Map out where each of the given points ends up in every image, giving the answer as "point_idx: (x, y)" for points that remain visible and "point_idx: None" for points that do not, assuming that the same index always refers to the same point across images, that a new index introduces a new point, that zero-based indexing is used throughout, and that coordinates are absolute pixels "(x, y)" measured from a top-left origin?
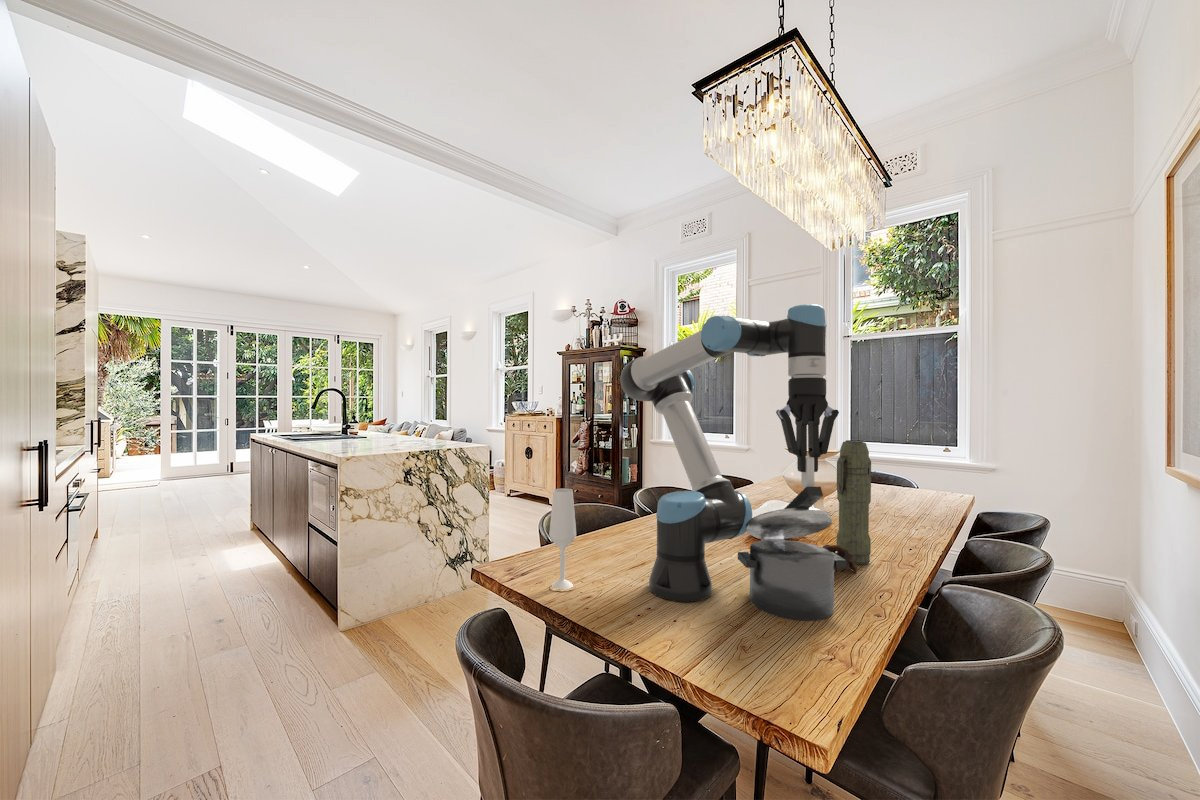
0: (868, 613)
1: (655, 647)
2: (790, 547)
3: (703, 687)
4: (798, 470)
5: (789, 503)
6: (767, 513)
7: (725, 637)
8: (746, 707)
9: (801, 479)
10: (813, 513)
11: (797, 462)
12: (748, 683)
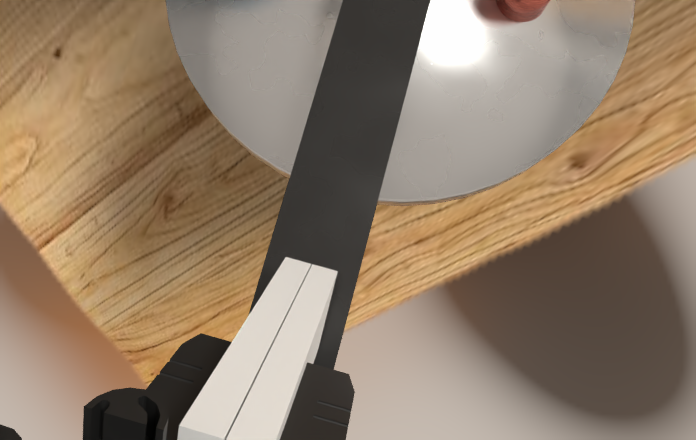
0: (565, 145)
1: (3, 155)
2: None
3: (63, 283)
4: (194, 342)
5: (316, 88)
6: (189, 75)
7: (147, 157)
8: (109, 335)
9: (270, 281)
10: (394, 204)
11: (149, 385)
12: (132, 294)
